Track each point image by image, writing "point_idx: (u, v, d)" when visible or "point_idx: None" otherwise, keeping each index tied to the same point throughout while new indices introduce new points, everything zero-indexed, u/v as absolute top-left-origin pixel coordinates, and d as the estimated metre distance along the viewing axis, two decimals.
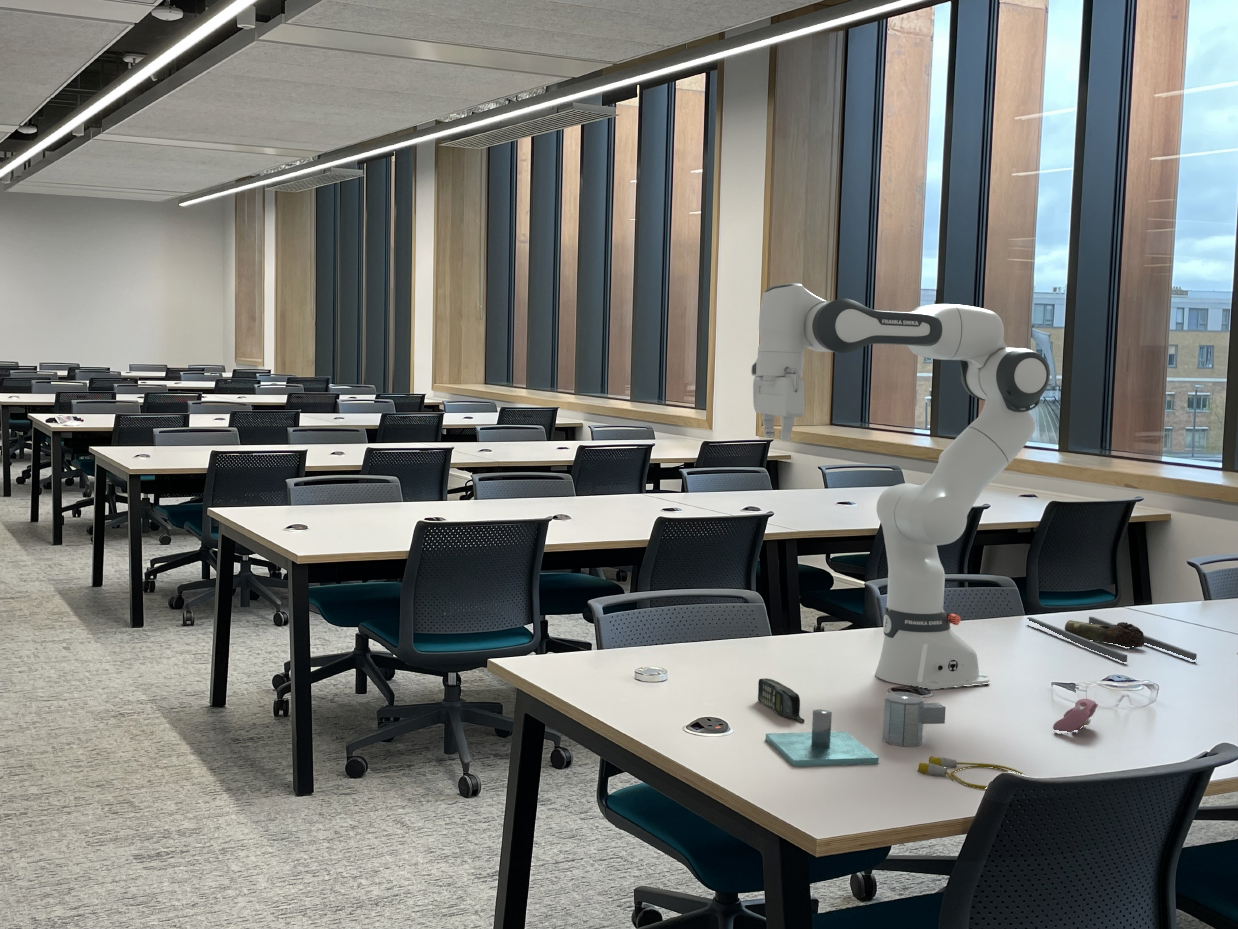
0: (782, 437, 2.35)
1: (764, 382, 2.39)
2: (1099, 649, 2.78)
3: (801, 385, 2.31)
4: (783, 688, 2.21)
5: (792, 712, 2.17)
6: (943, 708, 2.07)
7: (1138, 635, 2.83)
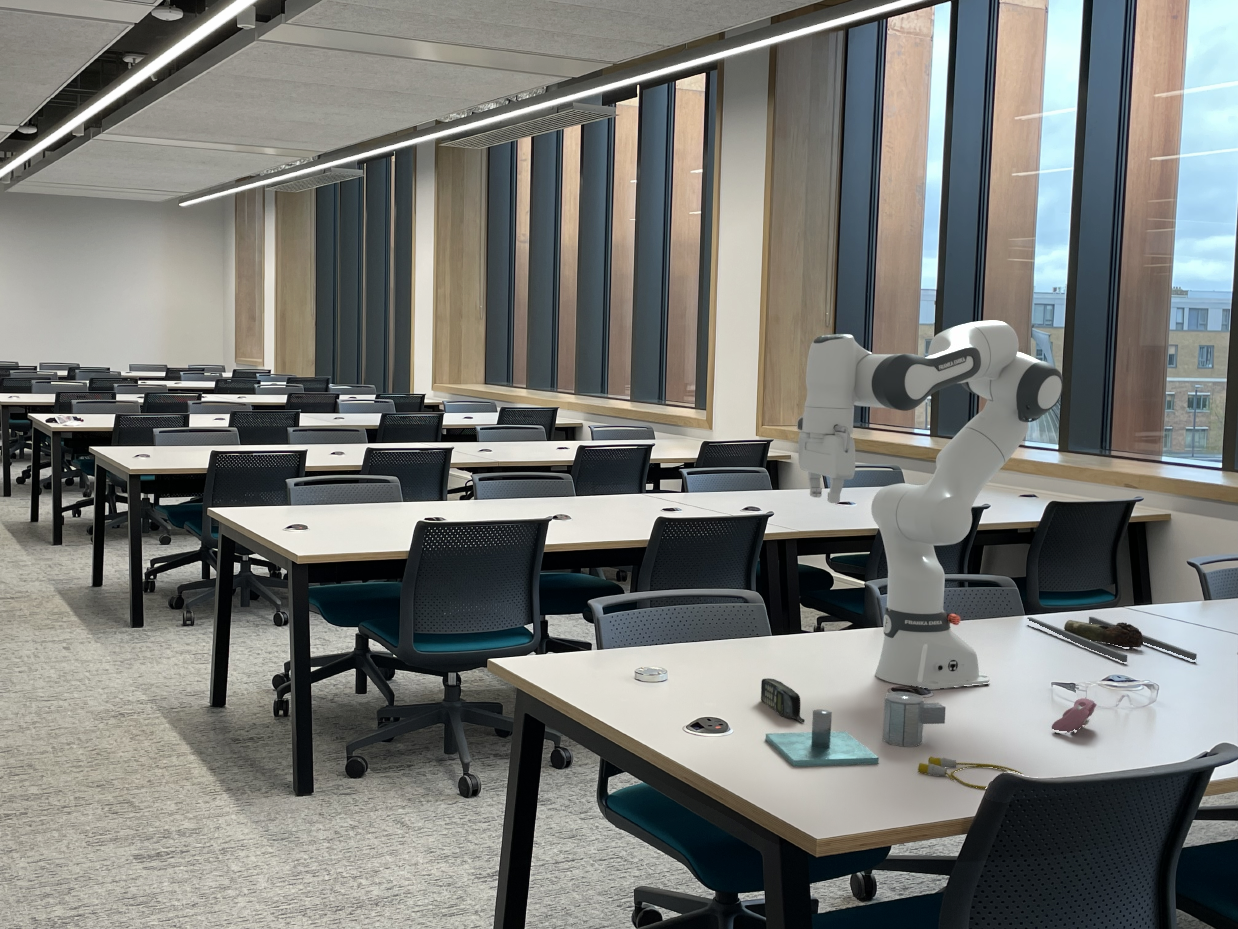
0: (830, 499, 2.19)
1: (811, 439, 2.23)
2: (1099, 649, 2.78)
3: (852, 445, 2.15)
4: (784, 688, 2.20)
5: (792, 712, 2.17)
6: (943, 708, 2.07)
7: (1136, 635, 2.82)
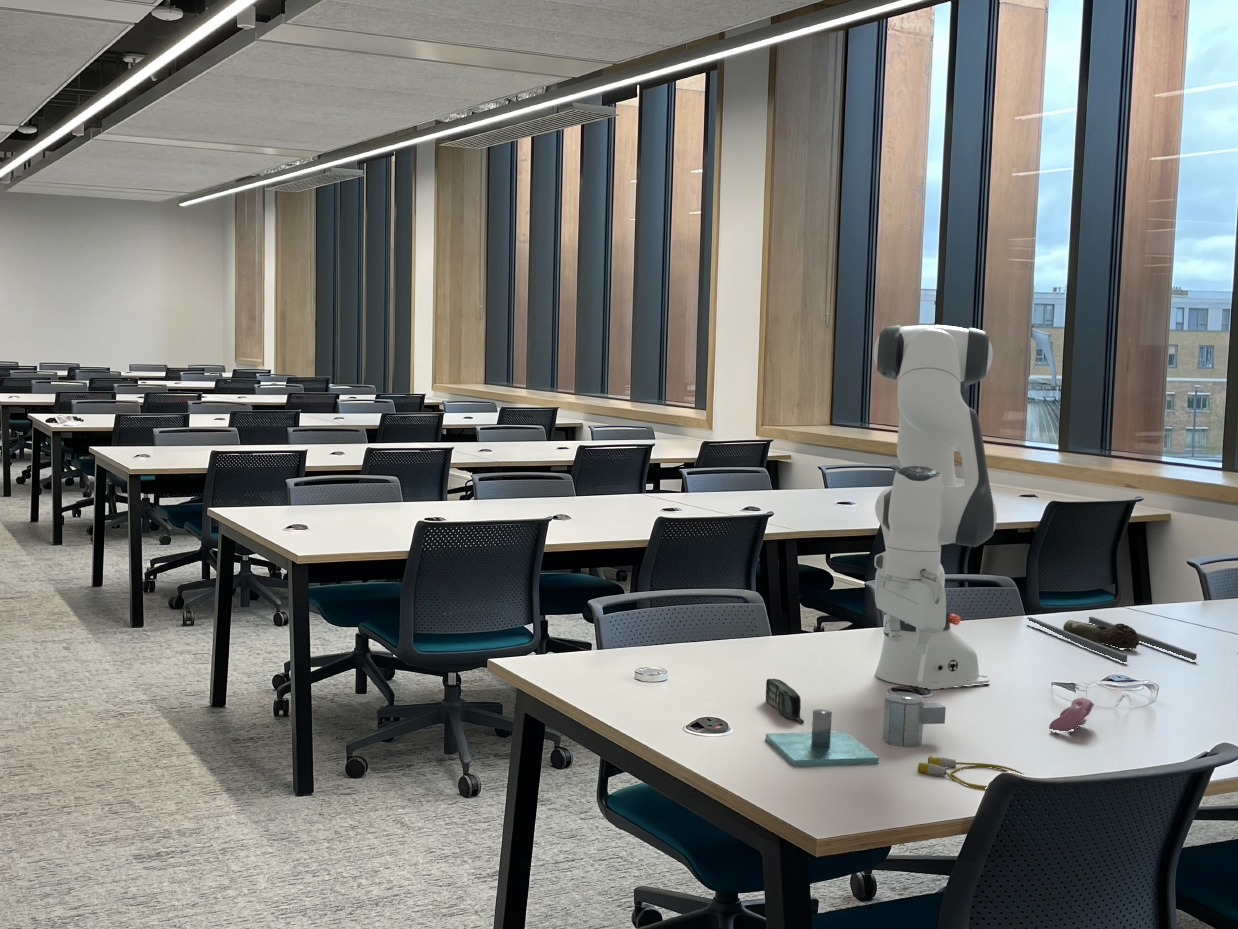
0: (916, 651, 2.01)
1: (894, 583, 2.04)
2: (1099, 649, 2.78)
3: (943, 595, 1.96)
4: (785, 688, 2.20)
5: (791, 713, 2.16)
6: (943, 708, 2.07)
7: (1131, 636, 2.81)
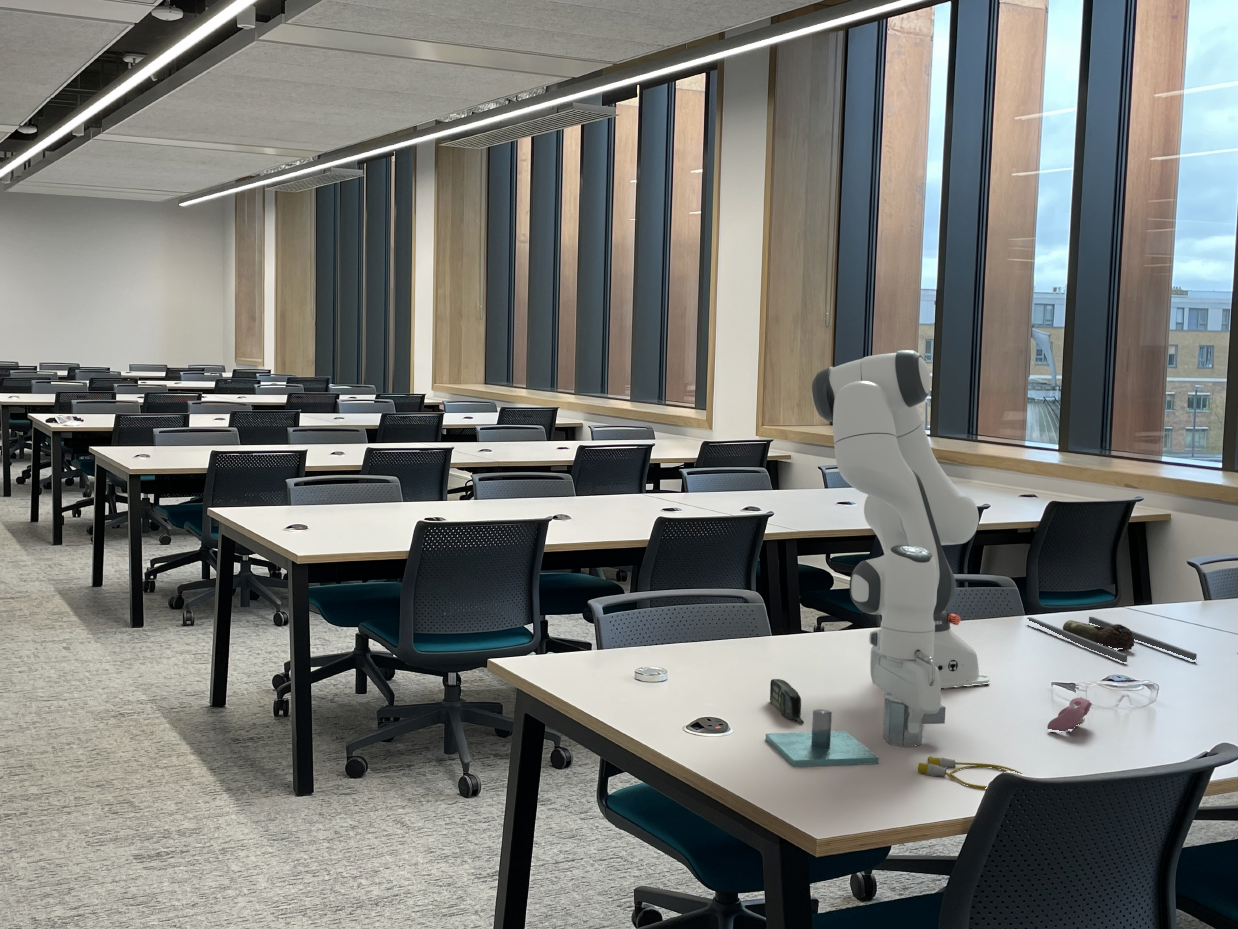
0: (909, 729, 2.03)
1: (889, 662, 2.05)
2: (1099, 649, 2.78)
3: (937, 677, 1.97)
4: (787, 689, 2.20)
5: (792, 713, 2.16)
6: (943, 708, 2.07)
7: (1125, 637, 2.80)
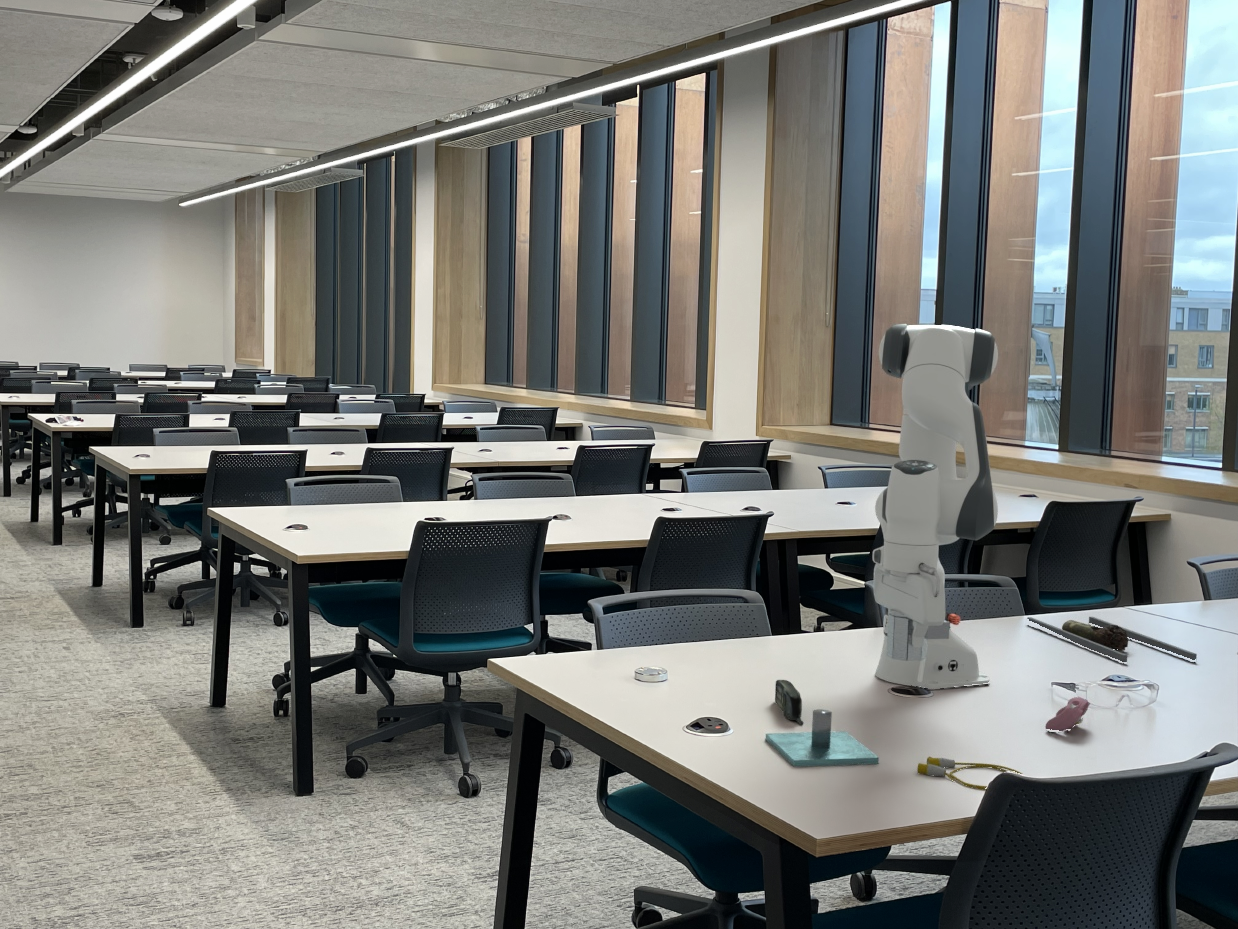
0: (914, 643, 2.01)
1: (892, 577, 2.04)
2: (1099, 649, 2.78)
3: (941, 588, 1.96)
4: (788, 689, 2.20)
5: (791, 714, 2.16)
6: (947, 623, 2.06)
7: (1118, 637, 2.79)
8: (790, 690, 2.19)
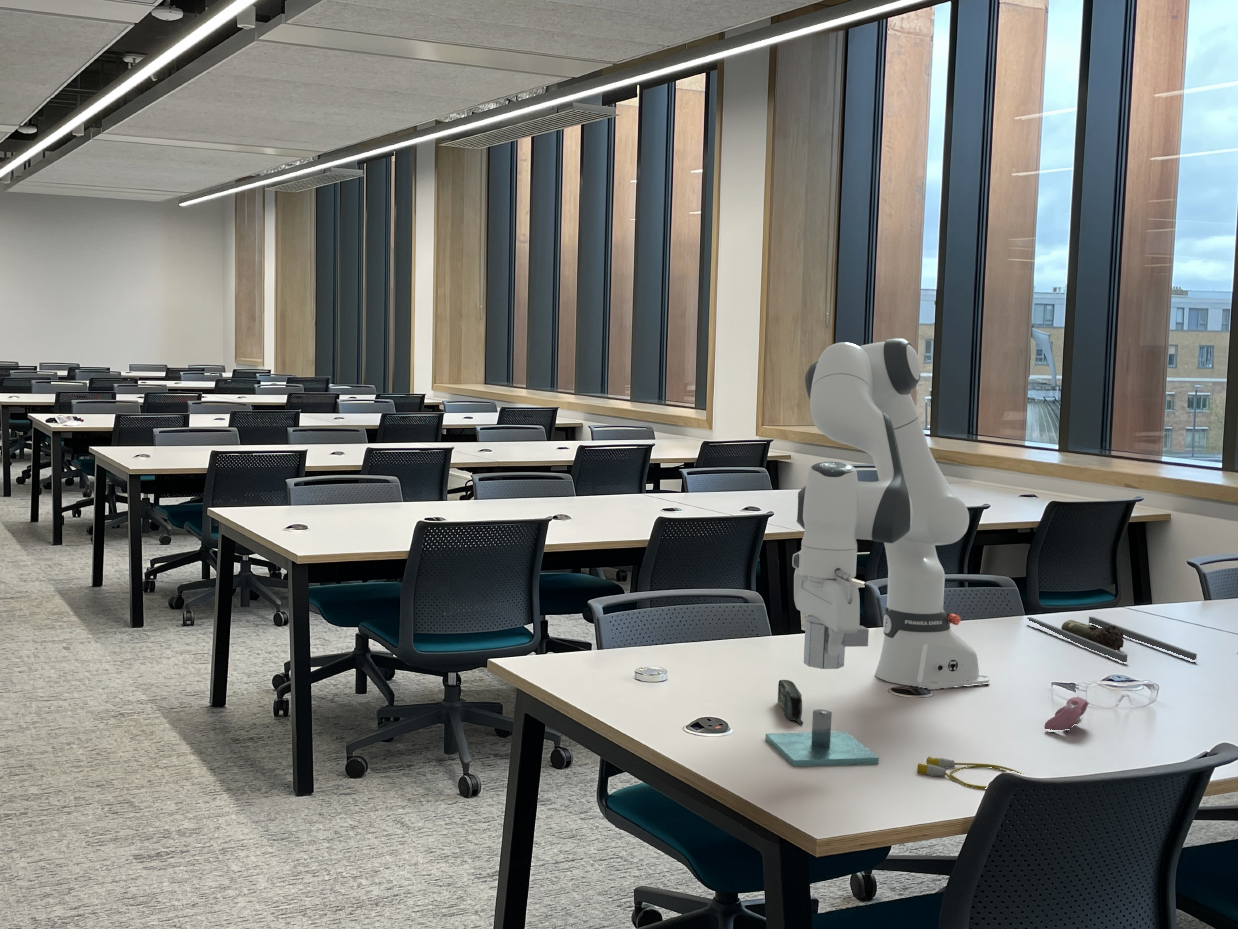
0: (829, 652, 1.95)
1: (809, 582, 1.97)
2: (1099, 649, 2.78)
3: (856, 595, 1.89)
4: (789, 689, 2.20)
5: (791, 714, 2.16)
6: (866, 630, 1.99)
7: (1113, 638, 2.79)
8: (791, 690, 2.19)
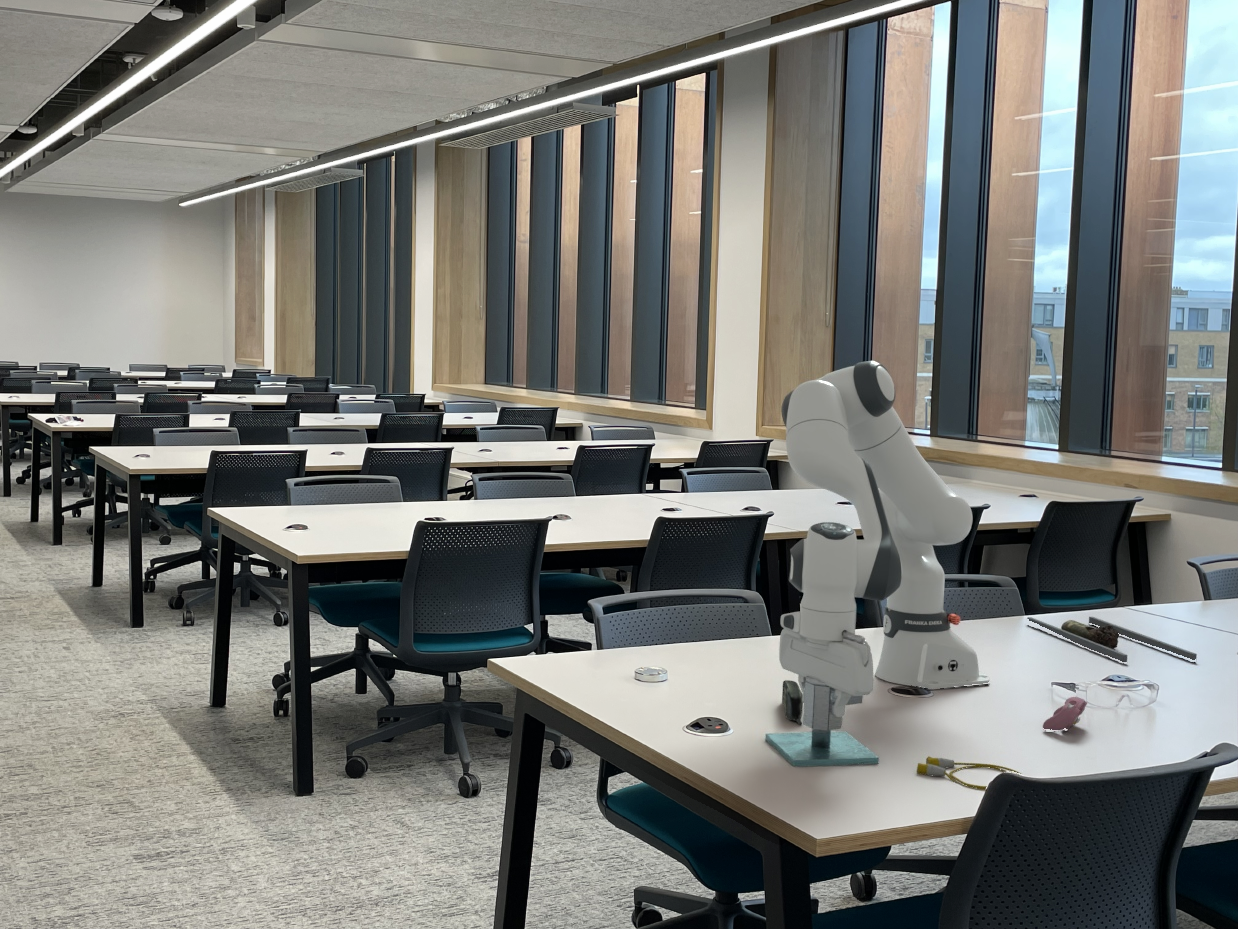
0: (836, 713, 1.95)
1: (812, 645, 1.97)
2: (1099, 649, 2.78)
3: (870, 657, 1.91)
4: (791, 690, 2.19)
5: (791, 714, 2.16)
6: None
7: (1106, 637, 2.79)
8: (792, 690, 2.19)
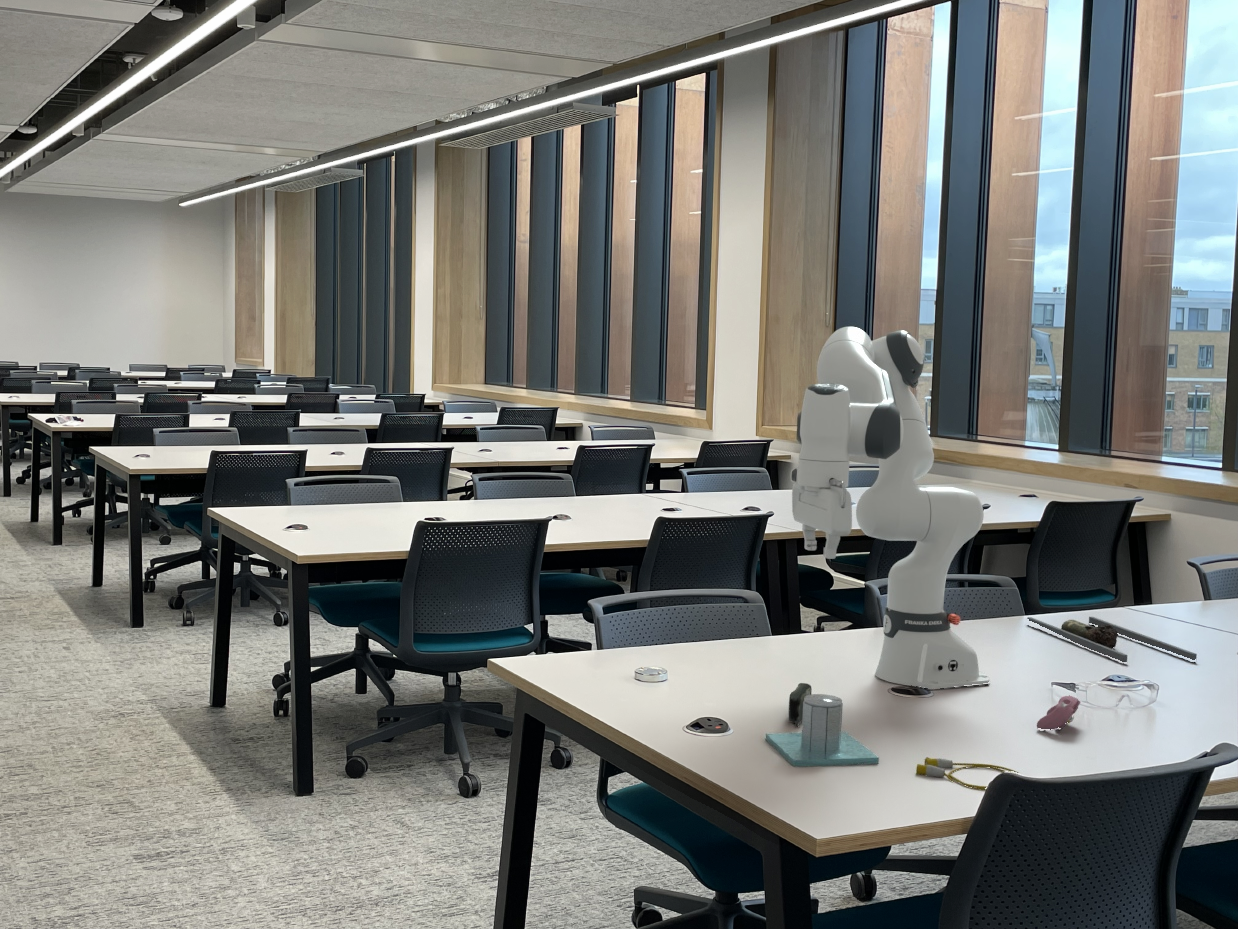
0: (826, 555, 2.13)
1: (806, 492, 2.17)
2: (1099, 649, 2.78)
3: (848, 500, 2.09)
4: (795, 692, 2.18)
5: (789, 716, 2.15)
6: None
7: (1104, 637, 2.79)
8: (795, 692, 2.18)
